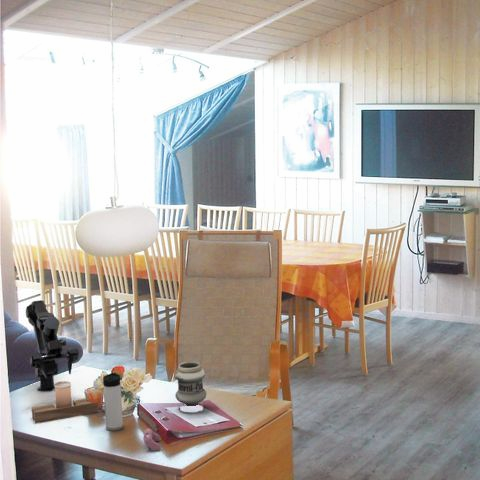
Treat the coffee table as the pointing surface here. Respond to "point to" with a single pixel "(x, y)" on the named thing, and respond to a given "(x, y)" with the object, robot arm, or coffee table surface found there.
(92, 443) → the coffee table surface
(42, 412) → the bar
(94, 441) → the coffee table surface
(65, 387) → the pink cylinder
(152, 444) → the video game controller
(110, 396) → the travel mug
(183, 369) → the apothecary jar
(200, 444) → the coffee table surface
